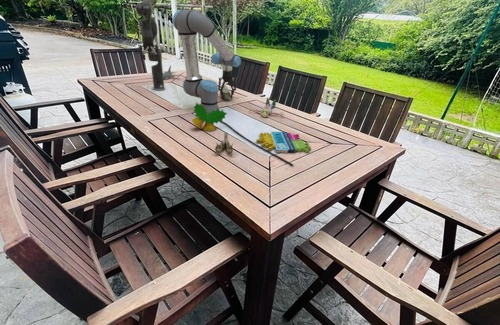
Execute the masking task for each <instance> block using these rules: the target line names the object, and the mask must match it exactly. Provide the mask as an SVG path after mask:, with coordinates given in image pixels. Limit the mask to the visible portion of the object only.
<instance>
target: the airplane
mask: <svg viewBox="0 0 500 325" xmlns="http://www.w3.org/2000/svg"><path fill="white" fill-rule="evenodd" d="M171 68H172V65H169V67H168V69H167V71H165V70H163V79H164V80H168V79H169V78H171V79H173V78H175V77H176V76H179V77H180V76H181V74H176V72H173V71H172V70H171Z"/></svg>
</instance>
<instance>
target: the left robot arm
mask: <svg viewBox="0 0 500 325" xmlns="http://www.w3.org/2000/svg"><path fill="white" fill-rule="evenodd" d="M157 2H158V0H141V2H139V3H137V4H136V6H135V13H136V14H137V15H138V16H141V17H143V18H144V19H141V20H140V22H139V23H140V33H141V41H142V44H138V53H139V55H141V57H142V61H146V60H147V59H148V61H149V62H157V63H156V64H154V65H152V66H151V76H152V85H153V90H154V91H164V90H165V81H164V80H165V79H163V74H164V70H163V56H162V55H163V54H162V51H161V50H159V45H158V44H154V42H155V39H156V38H157V36H158V24H157V22H156V20H155V19H154V17H153V16H152V15H153V7H155V6H156V5H157ZM146 54H147V59H146Z"/></svg>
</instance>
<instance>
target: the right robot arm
mask: <svg viewBox="0 0 500 325" xmlns="http://www.w3.org/2000/svg"><path fill="white" fill-rule="evenodd" d="M172 25H173V27H174V29H175V30H176V31H177V33H178V34H177V35H178V36H179V37H180V38H181V44H182V51H183V52H182V53H183V58H184V65H185V73H186V76H185V77H184V80H183V83H182V89H183V91H184V93H185V94H186V95H188V96H191V97H195V98H198V99H200V104H201V106H204V109H206V112H208V113H211V112H212V110H214V111H216V110H217V109H219V111H221V110H220V108H219V102H218V99H219V94H220V97H221V100H224V98H223V91H222V89H223V87H224V85H226V83H227V84H228V83H229V85H230V89H231V90H230V94H231V98H230V100H233V96H234V95H235V91H237V85H236V84H237V83H236V78H235V77H233V68H239V66H240V65H241V63H242V59H241V57H240V56H238V55H235V54H234V52H233V50H232V49H231V48H230V47H229V46H228V44H227V43H226V41H225V40H224V39H223V38H222V36H221V35H220V33H219V32H218V31H217V30H216V25H215V24H214V23H213V22H212V20H211V19H210V18H208V16H207V15H206V14H204V13H202V12H201V11H199V10H192V9H178V10H176V11H175V12H174V14H173V16H172ZM198 34H199V35H201V37H203V38H204V39H207V40H208V42H209V43H210V44H211V46H212V47H213V48H214V49H215V50H216V51H217V52H216V53H213V54H211V56H210V58H211V59H210V60H211V62H212V64H213V65H222V76H221V77H218V83H217V82H216V81H214V80H211V79H203V77H202V75H201V74H200V68H199V59H198V58H199V57H198V51H197V43H196V36H197V35H198ZM222 80H223V81H222ZM232 81H233V82H232ZM208 113H207V115H208ZM219 122H220V123H222V124H224V125H226V126H227V127H228V128H230V129H231V130H232V131H233V132H235V133H236V134H237V135H239V136H240V137H241V138H243V139H245V140H246V141H248V142H249V143H250V144H252V145H255V146H256V147H258V148H260V149H261V150H263V151H265V152H266V153H268V154H271V155H272V156H274V157H275V158H278V159H279V160H281V161H283V162H285V163H286V164H288V165H291V166H294V164H293V163H291V162H289V161H288V160H286V159H284V158H283V157H280V156H279V155H276V154H275V153H273V152H271V151H268V149H267V148H265V147H262V146H260V145H258V143H257V144H256V143H255V142H254V141H251V140H250V139H248V138H247V137H246V136H244V135H242V134H241V133H240V132H239V131H237V130H235V129H234V128H233V127H232V126H230V125H229V124H228V123H227V122H225V121H222V122H221V121H219Z"/></svg>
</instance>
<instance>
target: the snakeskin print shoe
mask: <svg viewBox="0 0 500 325" xmlns="http://www.w3.org/2000/svg"><path fill="white" fill-rule="evenodd" d="M222 91H223V100H225V101H230V100H231V91H230V89H229V87H228V86H227V85H226V84H224V87H223V89H222Z"/></svg>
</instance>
